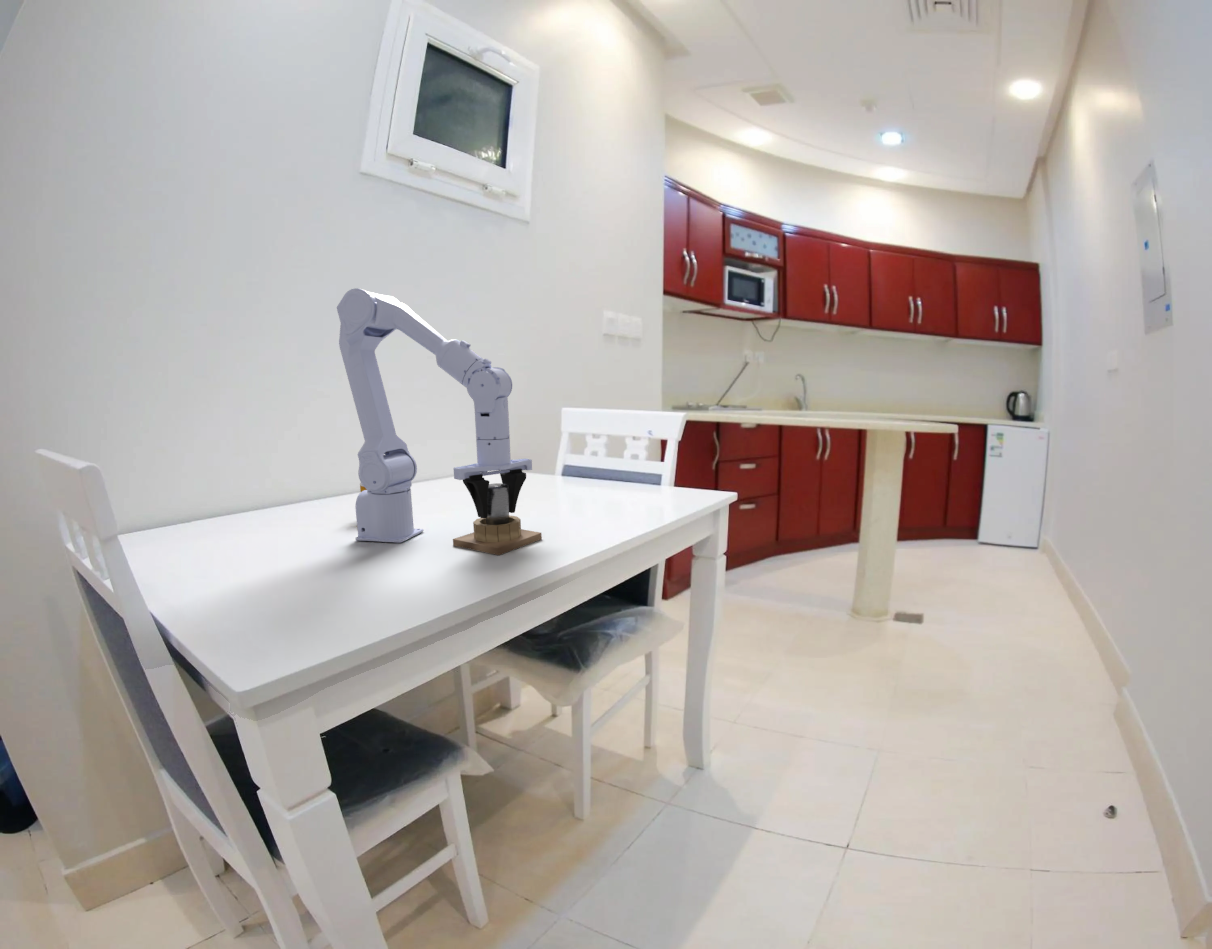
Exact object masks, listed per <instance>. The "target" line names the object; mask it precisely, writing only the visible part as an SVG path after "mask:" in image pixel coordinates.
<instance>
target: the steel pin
mask: <svg viewBox="0 0 1212 949" xmlns="http://www.w3.org/2000/svg"><path fill="white" fill-rule="evenodd" d="M487 507H488V516H487V518H486V525H501V524H507V523H509V515H510V512H509V485H507V484H503V483H502V482H501V483H495V482H494V483H489V486H488V494H487Z"/></svg>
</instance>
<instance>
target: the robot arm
mask: <svg viewBox="0 0 1212 949" xmlns="http://www.w3.org/2000/svg"><path fill="white" fill-rule="evenodd" d="M336 311H337V314H338V319H339V322H340V328H339V339H338V345H339V346H338V347H339V350H340V354H341V357H342V361H343V365H344V368H345V373H346V375H347V376H346V377H347V379H348V383H349V387H350V388H349V389H350V391H351V394H352V398H353V402H354V405H355V410H356V413H357V416H358V420H359V424H360V428H361V432H362V435H363V439H364V443H363V444H362V445H361V447H360V449H359V451H358V452H357V457H358V461H359V462H358V463H359V466H358V479H359V482H361V483H362V485H363V486H364V487H365V488H366V489H367V490H364V491H362V492H361V491H360V493H359V494H358V495H357V497H356V501H355V515H356V516H355V518H356V526H357V528H356V529H357V537H355V541H365V542H380V543H402V542H405V541H407V540H409V539H411V538H413V537H415V536H417V535H420V534H422V533H423V532H424V529H423V528H414V527H415V526H414V525H415V524H414V516H413V515H414V514H413V513H414V512H413V502H412V500H413V499H412V489H411V487H412V486H413V485H412V481H413V480H414V479H415V478H416V475H417V473H418V466H417V462H416V460H415V458H414V457H413V455H412V454H411V453H410V450H409V448H408V445H407V443H406V442H405V441H404V440H403V439H402V438H401V437H399V436H398V435H397V433H396V429H395V425H394V421H393V418H392V414H391V409H390V406H389V402H388V398H387V395H386V390H385V387H384V383H383V379H382V375H381V371H380V368H379V364H378V360H377V357H376V349H377V348H378V347H379V345H380V343H381V342H382V341H384V340H385V339H386V338H387V337H389V336H390V335H391V334H392V333H394V332H395V331H396V330H398V331H400V332H401V333H403V334H404V335H406V336H408V337H409V338H410V339H412V340H413V341H414V342H416V343H417V344H419V345H420V346H422V347H423V348H424V349H426V350H428V351H429V352H430V353H432V354H433V355H435V359H436V360H435V361H436V365H437V366H438V367H439V368H440V369H442V370H443V371H444V372H445V373H446V374H448V375H449V376H450V377H452V378H453V379H454V380H456V382H458V383H459V384H461V385H462V386H463V387H465V388H466V391H467V393H468V396H469V397H470V398H471V399H472V401H473V408H474V423H475V443H476V445H475V446H476V460H477V463H471V464H467V465H462V466H456V467H453V478H454V479H455V480H458V481H461V480H462V482H463V484H464V487H466V490H468V492H469V495H470V496H471V499H472V501H473V503H474V506H475V510H476V514H477V517H478V518H487V516H488V507H487V494H488V486H489V484H490V481H489V480H488V479H485V476H492V475H499V476H500V479H501V484H507V485H509V514H510V513H511V514H513V513H514V514H515V512H516V507H517V503H518V499H519V496H520V493H521V490H522V487H523V484H524V483H525V481H526V479H527V473H526V472H524V471H532V470H533V463H532V462H533V459H530V458H521V459H520V458H518V459H517V458H516V459H511V440H510V439H511V438H510V435H511V434H510V418H509V400H508V399H509V396H510V395H511V393H512V390H513V381H512V378H511V376H510V375H509V373H508V372H507V371H506V370H505V369H504V368H502V367H498V366H497V367H496V366H495V367H494V366H493V367H492V361H491V360H490V359H489V358H483V357H482V356H481V355H479V354H478V353H476V352H475V351H474V350H472V349H471V344H470V343H469V342H468V341H466V340H459V339H457V338H455V339H450V340H448V339H447V338H445V337H444V336H443V335H442V334H440V333H439V331H437V330H436V329H435V328H434V327H433V326H431V324H429V323H428V322H426V321H425V320H424V319H423V318H422V317H420V316H419V315H418V314H417V313H415V311H414V310H412V308H410V307H409V306H408V305H407V304H406V303H403V302H402V301H401V302H400V300H398V299H397V298H396V297H394V296H393V295H388V294H382V293H381V294H380V293H376V292H372V291H367V290H366V289H362V288H359V287H356V288H355V287H354V288H351V289H349V290H348V291H347V292H345V294H343V296H342V298H341V300H340V301H339V303H338V304H337V306H336Z"/></svg>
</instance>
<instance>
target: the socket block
mask: <svg viewBox="0 0 1212 949" xmlns="http://www.w3.org/2000/svg"><path fill="white" fill-rule="evenodd" d="M472 524H473V532H470V533H468V534H464V535H462V536H458V537H455V538H453V539H452V546H454V547H458V548H462V549H463V548H464V549H467V550H473V551H476V552H481V553H486V554H491V555H497V556H501V555H504V554H506V553H509V552H512V551H514V550H517V549H519V548H522V547H525V546H528V545H530V544H533V543H535V542H538V541H540V540H542V538H543V536H542V532H539V531H532V530H528V529H527V530H526V529H522V525H521V524H522V523H521V518H520V517H518V516H515V515H510V514H509V523H507V524H501V525H486V518H480V517H478V518H476V519H475V520H474V521H473V522H472Z"/></svg>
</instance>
